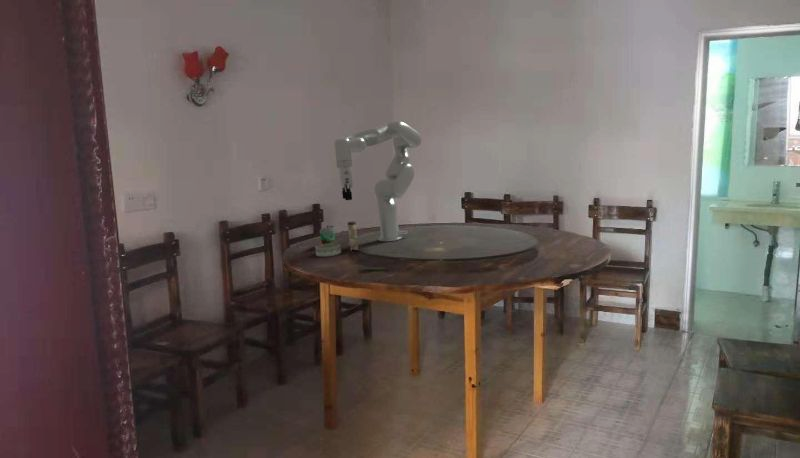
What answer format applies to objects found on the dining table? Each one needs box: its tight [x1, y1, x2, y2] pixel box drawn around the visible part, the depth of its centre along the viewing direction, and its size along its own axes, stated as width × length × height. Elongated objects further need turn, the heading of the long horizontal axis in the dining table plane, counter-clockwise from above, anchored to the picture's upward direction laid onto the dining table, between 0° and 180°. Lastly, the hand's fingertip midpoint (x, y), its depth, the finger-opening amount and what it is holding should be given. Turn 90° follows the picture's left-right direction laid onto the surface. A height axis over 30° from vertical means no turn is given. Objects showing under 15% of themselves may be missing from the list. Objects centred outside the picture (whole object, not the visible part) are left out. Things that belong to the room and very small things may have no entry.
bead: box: [314, 242, 342, 257], centre depth 308 cm, size 12×12×4 cm
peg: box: [347, 221, 359, 252], centre depth 310 cm, size 4×4×14 cm
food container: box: [319, 224, 336, 245], centre depth 328 cm, size 12×6×10 cm, turn 168°
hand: (347, 199), depth 308 cm, fingers open, 9 cm apart
